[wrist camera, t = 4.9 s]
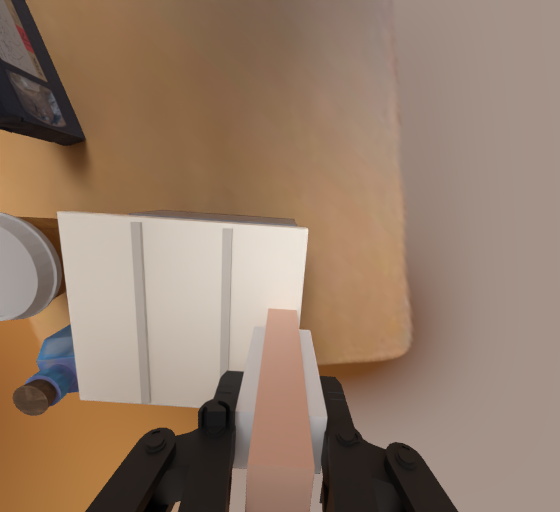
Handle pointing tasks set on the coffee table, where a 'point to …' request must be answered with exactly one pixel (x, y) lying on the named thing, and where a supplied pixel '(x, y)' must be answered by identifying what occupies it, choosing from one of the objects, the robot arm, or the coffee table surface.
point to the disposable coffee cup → (29, 265)
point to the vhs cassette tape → (31, 82)
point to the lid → (195, 327)
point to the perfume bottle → (50, 375)
